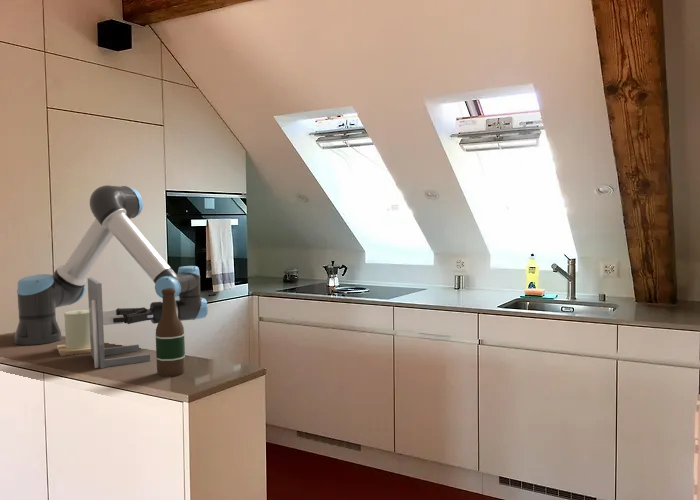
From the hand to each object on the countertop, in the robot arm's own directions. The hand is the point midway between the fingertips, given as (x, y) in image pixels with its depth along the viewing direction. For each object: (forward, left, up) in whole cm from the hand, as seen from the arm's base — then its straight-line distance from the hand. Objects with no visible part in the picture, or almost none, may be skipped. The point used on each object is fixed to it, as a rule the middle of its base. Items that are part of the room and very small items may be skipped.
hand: (99, 318), depth 209 cm
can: (0, -6, -9) cm, 11 cm away
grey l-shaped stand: (+21, +2, -10) cm, 23 cm away
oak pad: (0, -6, -10) cm, 12 cm away
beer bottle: (+48, +12, -10) cm, 50 cm away
